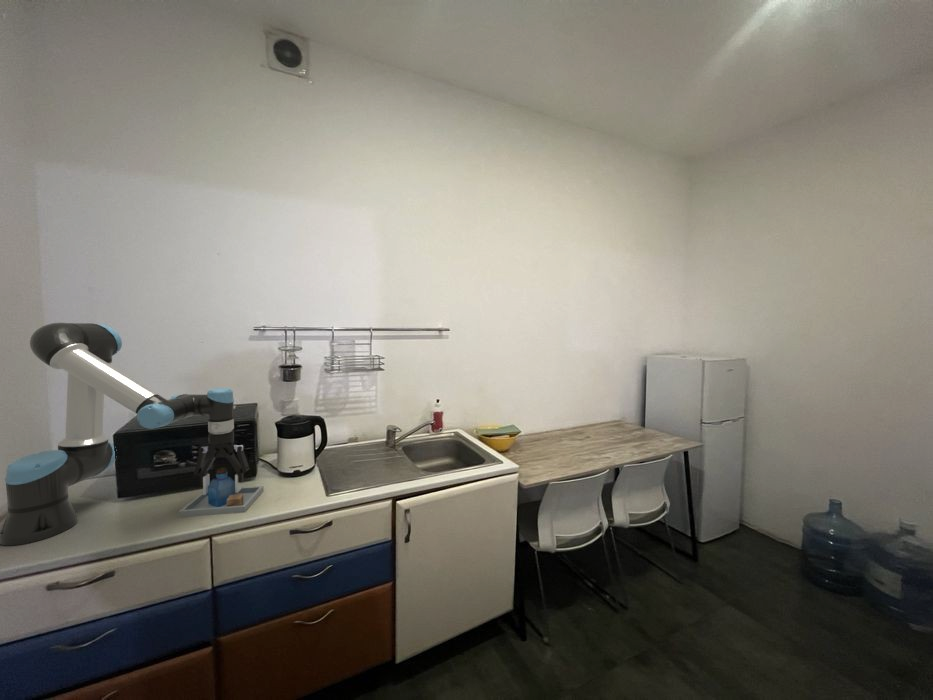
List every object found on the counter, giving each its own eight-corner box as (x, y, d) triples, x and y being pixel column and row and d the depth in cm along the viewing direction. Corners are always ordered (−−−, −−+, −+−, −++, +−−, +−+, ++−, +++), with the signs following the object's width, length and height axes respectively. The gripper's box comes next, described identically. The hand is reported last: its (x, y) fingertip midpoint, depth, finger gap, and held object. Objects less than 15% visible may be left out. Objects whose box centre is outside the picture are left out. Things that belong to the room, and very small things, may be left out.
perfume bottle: (226, 496, 128) (226, 464, 127) (236, 500, 125) (235, 468, 124) (208, 503, 122) (207, 470, 122) (217, 507, 119) (216, 474, 119)
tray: (178, 518, 113) (178, 511, 113) (205, 496, 129) (205, 489, 129) (244, 513, 117) (244, 506, 117) (263, 492, 133) (263, 485, 133)
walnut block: (226, 511, 117) (226, 500, 117) (230, 506, 121) (230, 495, 120) (240, 509, 118) (240, 498, 118) (243, 504, 122) (243, 493, 122)
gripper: (179, 435, 117) (181, 499, 118) (250, 433, 121) (251, 494, 122) (192, 429, 124) (194, 489, 125) (259, 427, 128) (260, 485, 129)
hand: (222, 492), depth 124 cm, fingers open, 10 cm apart
